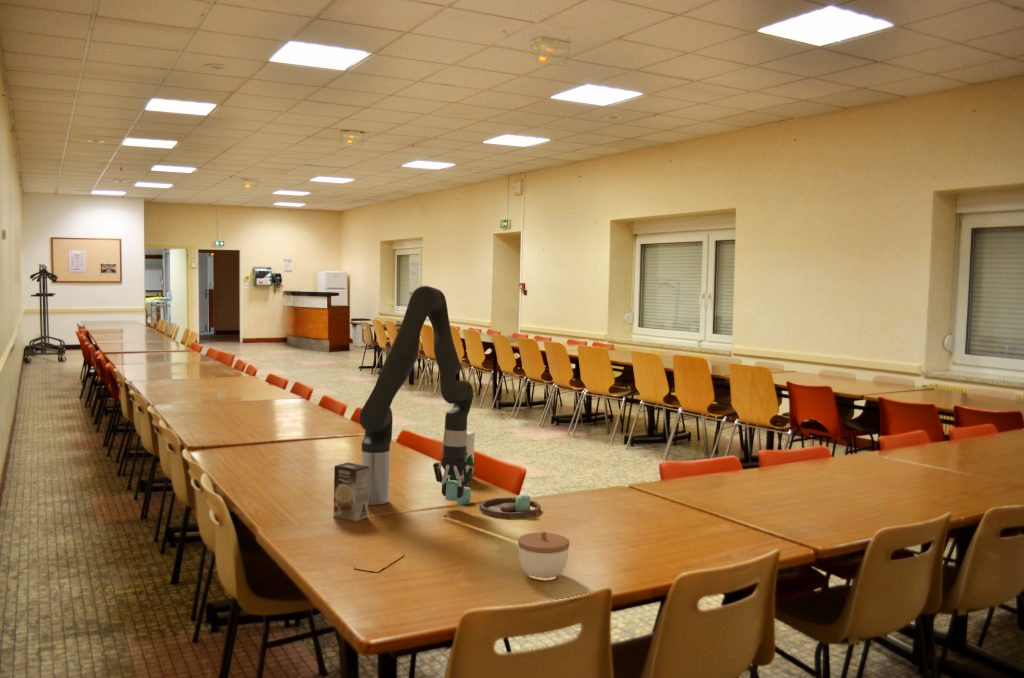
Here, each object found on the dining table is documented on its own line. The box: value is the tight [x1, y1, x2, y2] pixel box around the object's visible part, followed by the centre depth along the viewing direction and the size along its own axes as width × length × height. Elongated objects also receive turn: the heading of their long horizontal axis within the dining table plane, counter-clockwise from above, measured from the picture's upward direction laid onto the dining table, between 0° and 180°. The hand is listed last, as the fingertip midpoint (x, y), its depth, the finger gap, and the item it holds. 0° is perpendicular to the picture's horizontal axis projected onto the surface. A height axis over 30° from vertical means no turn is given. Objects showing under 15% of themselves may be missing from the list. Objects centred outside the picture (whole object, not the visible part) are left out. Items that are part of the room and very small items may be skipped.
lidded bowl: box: [517, 531, 570, 578], centre depth 191 cm, size 13×13×11 cm
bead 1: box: [444, 480, 459, 502], centre depth 247 cm, size 4×4×6 cm
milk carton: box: [448, 430, 476, 481], centre depth 293 cm, size 9×9×20 cm
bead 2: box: [456, 486, 472, 507], centre depth 257 cm, size 4×4×6 cm
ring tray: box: [478, 497, 542, 519], centre depth 248 cm, size 19×19×3 cm
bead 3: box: [515, 494, 531, 512], centre depth 244 cm, size 4×4×6 cm
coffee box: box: [333, 462, 369, 522], centre depth 238 cm, size 9×6×16 cm
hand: (452, 496), depth 247 cm, fingers closed on bead 1, 4 cm apart
